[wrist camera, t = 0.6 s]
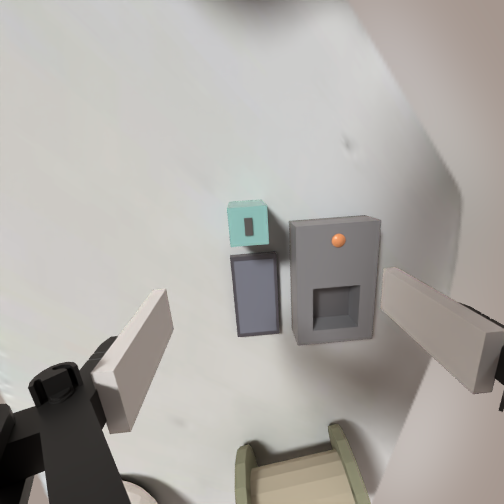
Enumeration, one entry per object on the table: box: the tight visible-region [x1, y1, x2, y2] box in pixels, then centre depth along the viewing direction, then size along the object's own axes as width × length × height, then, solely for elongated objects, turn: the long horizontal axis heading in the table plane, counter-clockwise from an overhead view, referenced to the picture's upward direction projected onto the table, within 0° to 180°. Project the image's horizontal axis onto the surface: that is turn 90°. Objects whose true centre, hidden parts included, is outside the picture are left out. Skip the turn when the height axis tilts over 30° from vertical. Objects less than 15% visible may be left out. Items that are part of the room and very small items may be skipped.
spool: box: [235, 424, 371, 504], centre depth 37 cm, size 16×15×15 cm
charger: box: [227, 200, 269, 247], centre depth 29 cm, size 4×4×7 cm
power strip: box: [289, 215, 381, 345], centre depth 33 cm, size 16×10×4 cm, turn 4°
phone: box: [230, 252, 279, 337], centre depth 35 cm, size 6×12×1 cm, turn 4°
